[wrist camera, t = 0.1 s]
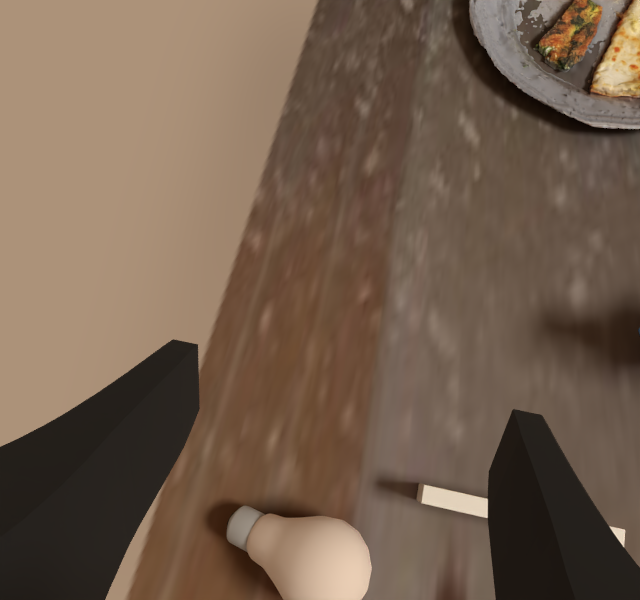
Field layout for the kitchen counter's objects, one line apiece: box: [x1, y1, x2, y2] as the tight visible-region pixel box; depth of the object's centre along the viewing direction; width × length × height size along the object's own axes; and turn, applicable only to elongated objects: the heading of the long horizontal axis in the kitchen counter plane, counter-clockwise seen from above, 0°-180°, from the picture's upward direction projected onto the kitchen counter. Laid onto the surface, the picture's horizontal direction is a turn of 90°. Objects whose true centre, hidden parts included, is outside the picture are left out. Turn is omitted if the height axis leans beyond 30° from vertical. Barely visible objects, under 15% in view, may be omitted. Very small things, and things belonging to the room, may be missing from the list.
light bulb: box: [227, 506, 372, 600], centre depth 40 cm, size 7×7×11 cm
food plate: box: [469, 0, 640, 130], centre depth 52 cm, size 25×23×4 cm
